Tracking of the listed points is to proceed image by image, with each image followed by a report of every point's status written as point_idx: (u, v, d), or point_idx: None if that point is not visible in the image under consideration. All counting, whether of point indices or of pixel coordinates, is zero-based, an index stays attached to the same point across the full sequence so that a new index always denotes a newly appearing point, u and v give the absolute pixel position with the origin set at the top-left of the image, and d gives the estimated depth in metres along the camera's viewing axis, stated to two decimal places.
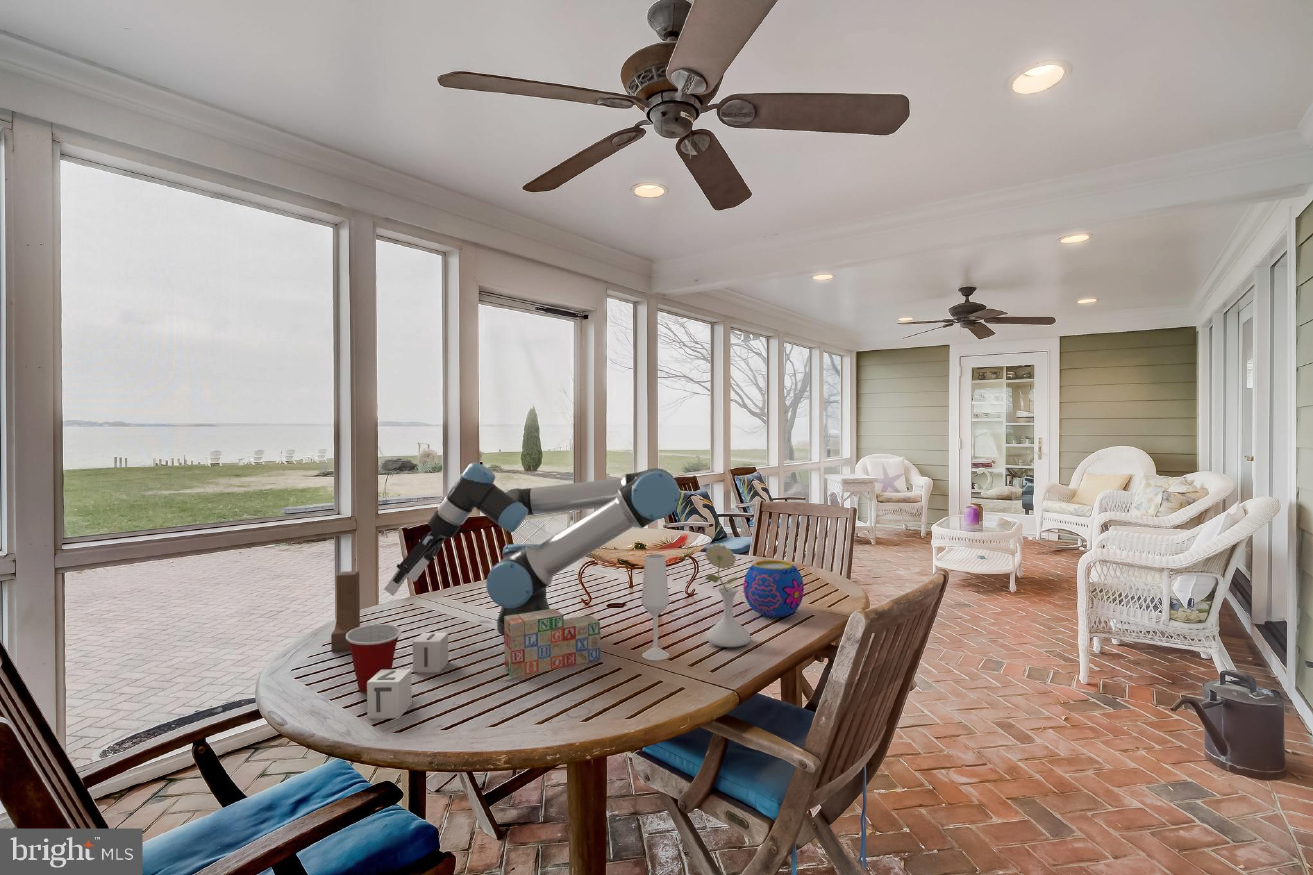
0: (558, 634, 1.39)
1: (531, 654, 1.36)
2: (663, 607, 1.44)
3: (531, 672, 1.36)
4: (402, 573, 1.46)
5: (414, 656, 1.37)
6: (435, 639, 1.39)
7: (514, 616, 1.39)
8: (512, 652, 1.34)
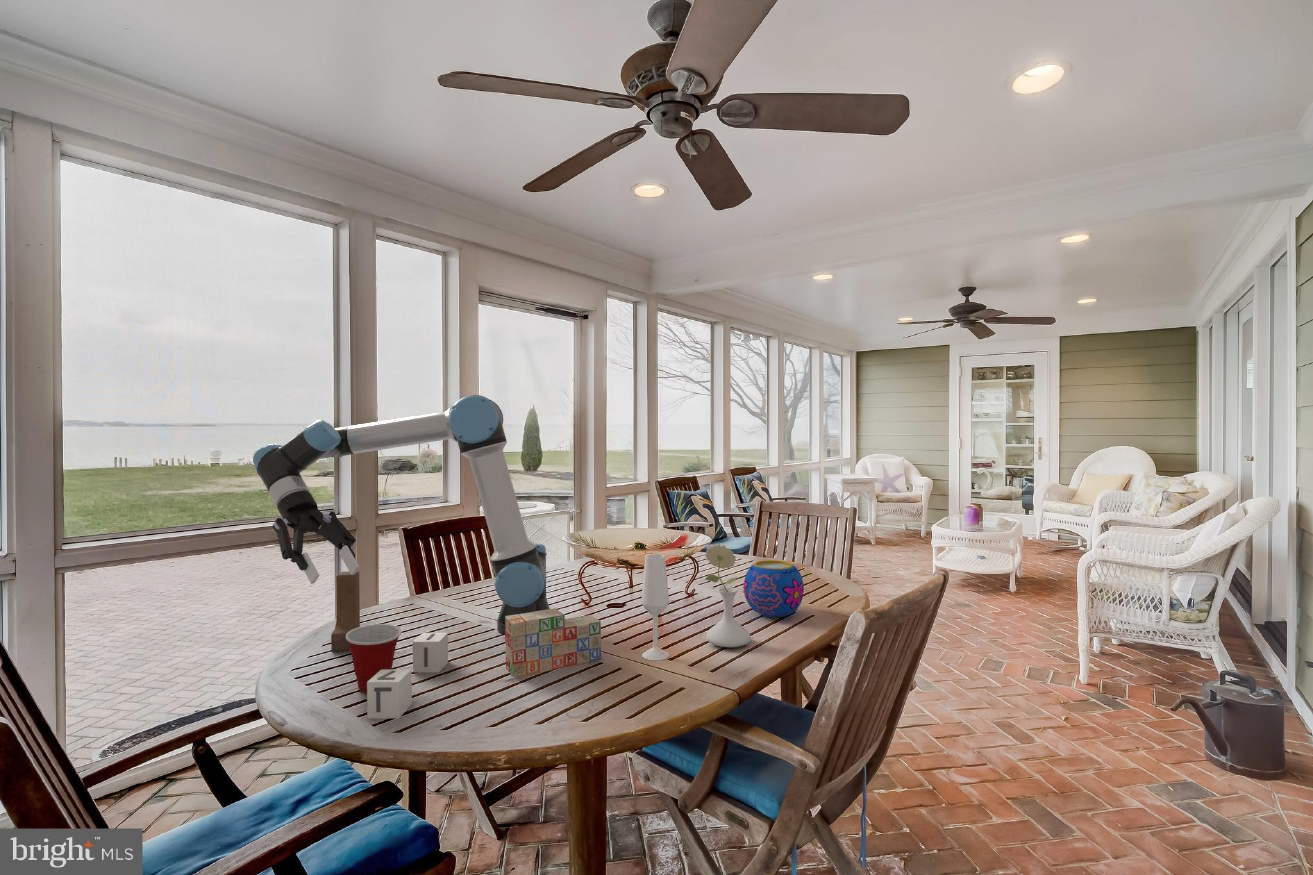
0: (559, 634, 1.39)
1: (532, 654, 1.36)
2: (663, 607, 1.44)
3: (532, 672, 1.36)
4: (296, 557, 1.32)
5: (414, 656, 1.37)
6: (435, 639, 1.39)
7: (515, 616, 1.39)
8: (513, 652, 1.34)
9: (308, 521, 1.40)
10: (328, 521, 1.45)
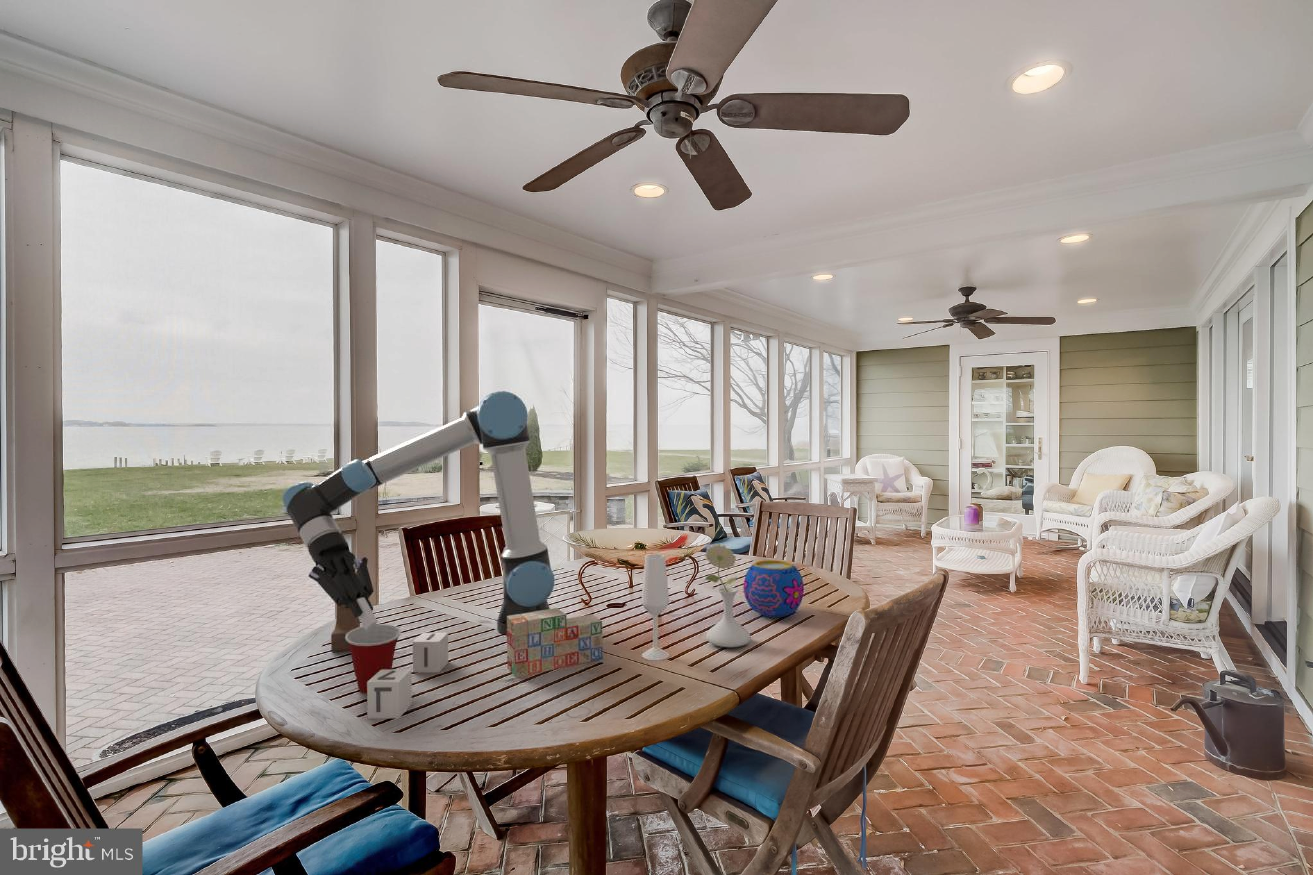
0: (561, 633, 1.40)
1: (534, 653, 1.36)
2: (663, 607, 1.44)
3: (534, 672, 1.36)
4: (350, 603, 1.29)
5: (414, 656, 1.37)
6: (435, 639, 1.39)
7: (517, 616, 1.39)
8: (516, 652, 1.34)
9: (340, 564, 1.34)
10: (357, 566, 1.38)
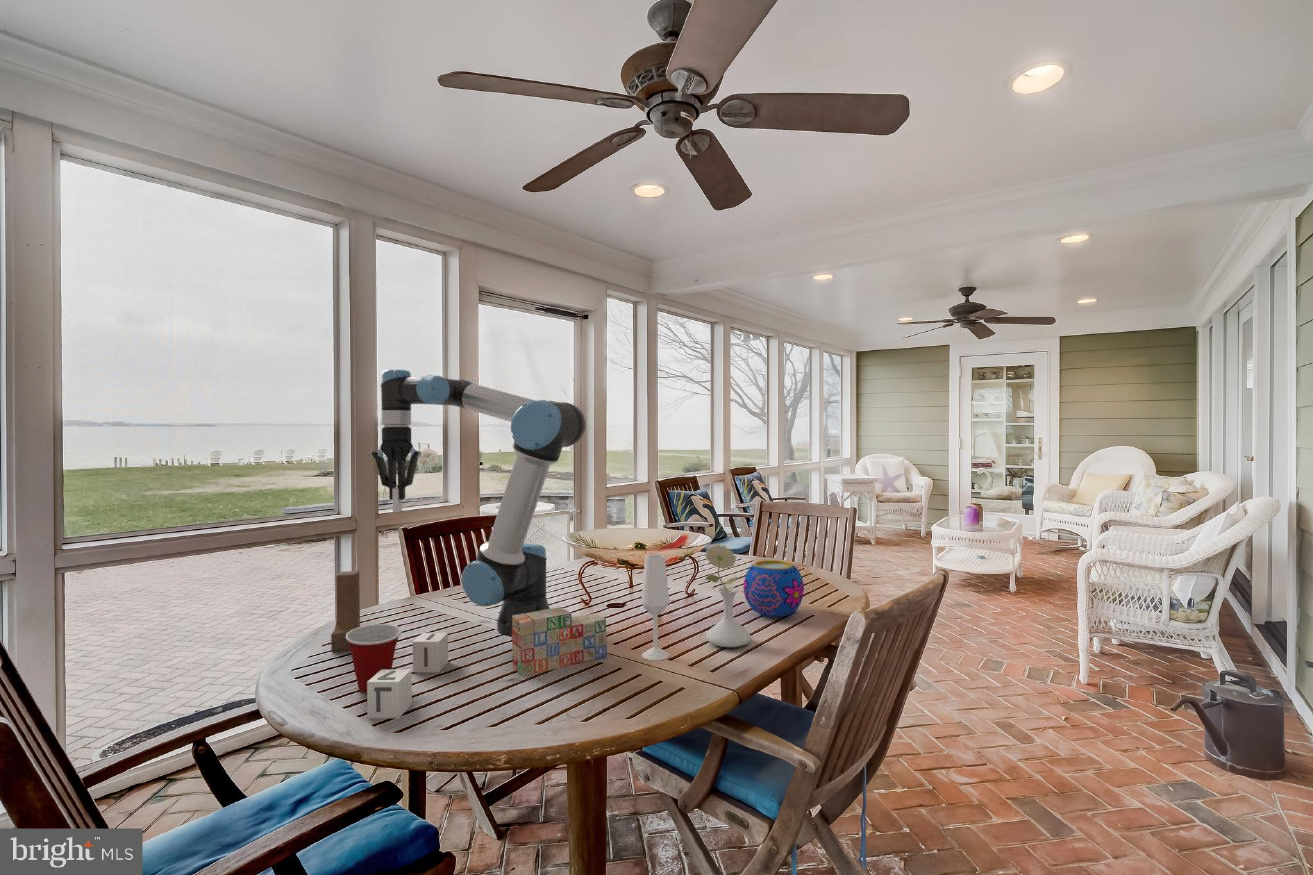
0: (566, 632, 1.40)
1: (540, 652, 1.37)
2: (663, 607, 1.44)
3: (540, 670, 1.37)
4: None
5: (414, 656, 1.37)
6: (435, 639, 1.39)
7: (522, 615, 1.39)
8: (522, 651, 1.35)
9: (394, 454, 1.66)
10: None
